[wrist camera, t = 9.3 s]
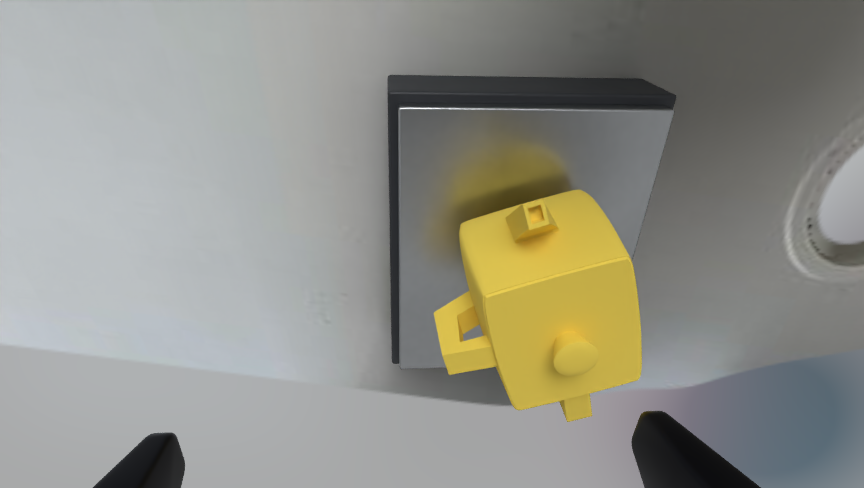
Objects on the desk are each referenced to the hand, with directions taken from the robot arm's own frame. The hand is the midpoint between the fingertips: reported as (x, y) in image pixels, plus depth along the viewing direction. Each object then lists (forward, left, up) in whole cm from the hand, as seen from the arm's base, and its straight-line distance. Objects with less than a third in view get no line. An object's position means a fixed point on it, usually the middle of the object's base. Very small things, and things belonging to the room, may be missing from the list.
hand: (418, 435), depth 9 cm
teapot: (-1, -4, -8) cm, 9 cm away
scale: (-1, -4, -11) cm, 12 cm away
